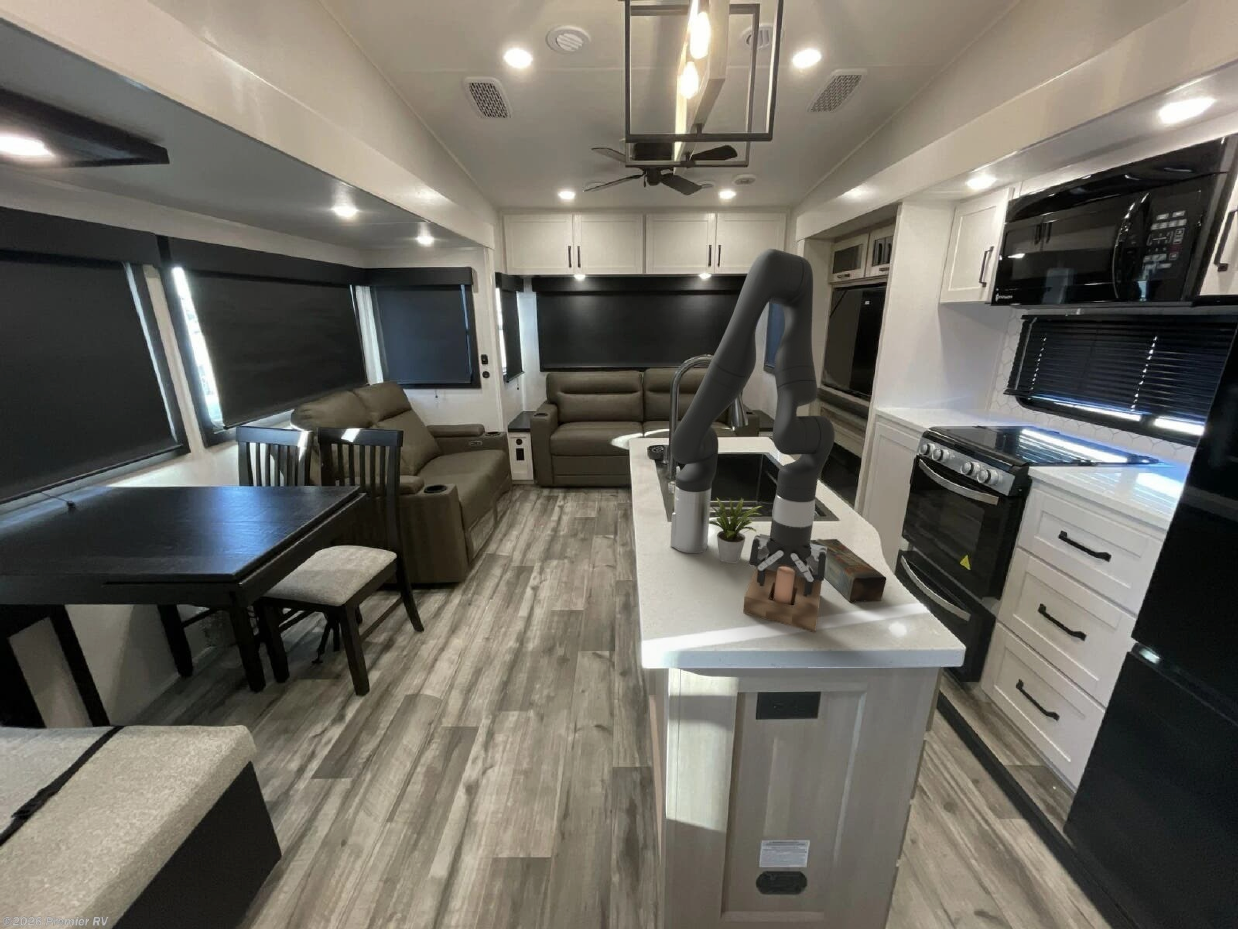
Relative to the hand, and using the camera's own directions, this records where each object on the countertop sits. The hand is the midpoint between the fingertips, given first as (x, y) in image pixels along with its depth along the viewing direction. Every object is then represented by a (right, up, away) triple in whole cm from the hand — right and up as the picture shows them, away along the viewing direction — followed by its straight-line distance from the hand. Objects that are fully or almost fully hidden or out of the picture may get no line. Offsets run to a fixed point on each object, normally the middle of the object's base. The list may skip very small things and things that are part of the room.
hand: (783, 589), depth 93 cm
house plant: (-5, +1, +22) cm, 23 cm away
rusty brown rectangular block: (+19, -2, +14) cm, 24 cm away
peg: (0, -5, +2) cm, 6 cm away
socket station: (+2, -4, +5) cm, 7 cm away
